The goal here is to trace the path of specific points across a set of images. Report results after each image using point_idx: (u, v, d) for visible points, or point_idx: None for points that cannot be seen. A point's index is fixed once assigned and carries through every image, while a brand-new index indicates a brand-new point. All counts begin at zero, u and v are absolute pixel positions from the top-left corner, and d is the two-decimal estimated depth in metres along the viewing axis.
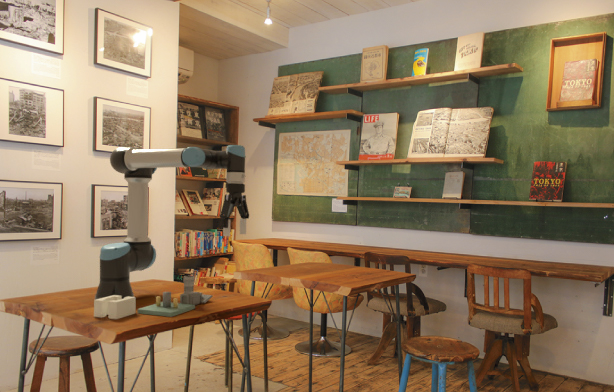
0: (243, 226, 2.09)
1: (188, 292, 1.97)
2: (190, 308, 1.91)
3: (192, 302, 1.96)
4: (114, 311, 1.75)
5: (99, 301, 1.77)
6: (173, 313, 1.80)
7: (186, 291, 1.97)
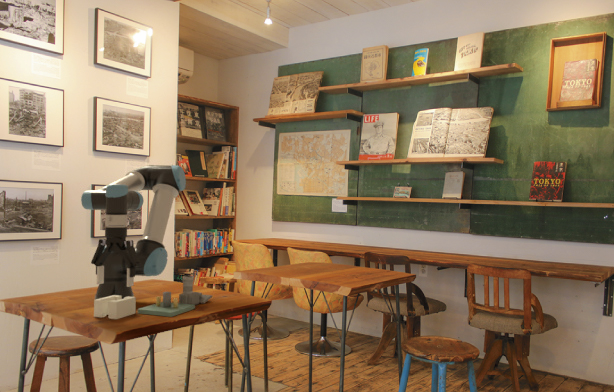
0: None
1: (187, 292, 1.97)
2: (190, 308, 1.91)
3: (190, 302, 1.96)
4: (114, 311, 1.75)
5: (99, 301, 1.77)
6: (173, 313, 1.80)
7: (185, 291, 1.97)
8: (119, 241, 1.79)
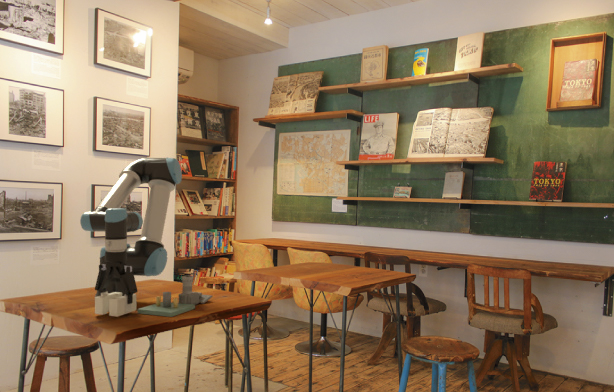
0: None
1: (186, 292, 1.97)
2: (190, 308, 1.91)
3: (190, 302, 1.96)
4: (115, 308, 1.76)
5: (100, 298, 1.78)
6: (173, 313, 1.80)
7: (184, 291, 1.97)
8: (119, 265, 1.79)
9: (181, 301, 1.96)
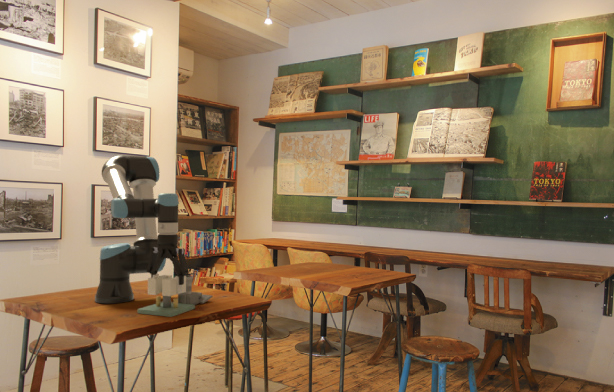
0: None
1: (185, 292, 1.97)
2: (190, 308, 1.91)
3: (189, 302, 1.96)
4: (168, 288, 1.82)
5: (153, 279, 1.85)
6: (173, 313, 1.80)
7: None
8: (171, 247, 1.87)
9: (180, 301, 1.96)
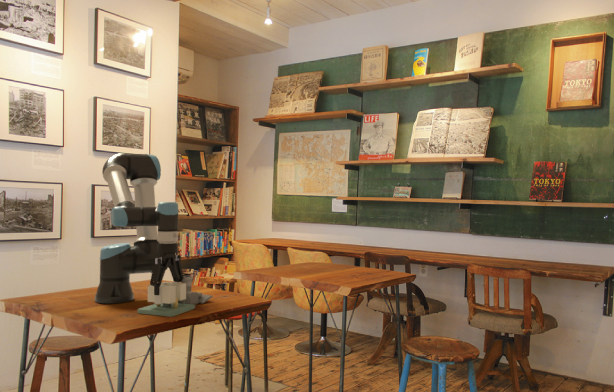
0: None
1: None
2: (190, 308, 1.91)
3: (188, 302, 1.96)
4: (184, 292, 1.91)
5: (173, 287, 1.84)
6: (173, 313, 1.80)
7: None
8: (174, 255, 1.91)
9: (180, 301, 1.96)
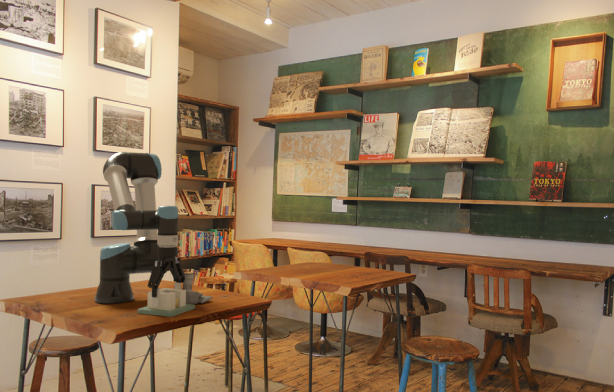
0: None
1: (186, 290, 1.97)
2: (190, 308, 1.91)
3: (188, 300, 1.96)
4: (184, 298, 1.91)
5: (173, 294, 1.85)
6: (173, 313, 1.80)
7: (184, 289, 1.98)
8: (174, 259, 1.91)
9: None
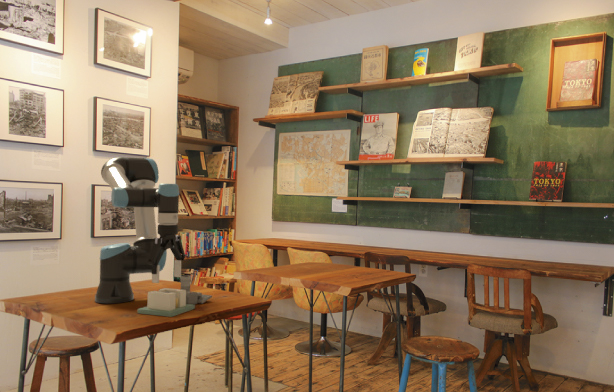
0: (178, 268, 1.95)
1: None
2: (190, 308, 1.91)
3: (187, 302, 1.96)
4: (184, 298, 1.91)
5: (173, 294, 1.85)
6: (173, 313, 1.80)
7: None
8: (174, 237, 1.91)
9: None
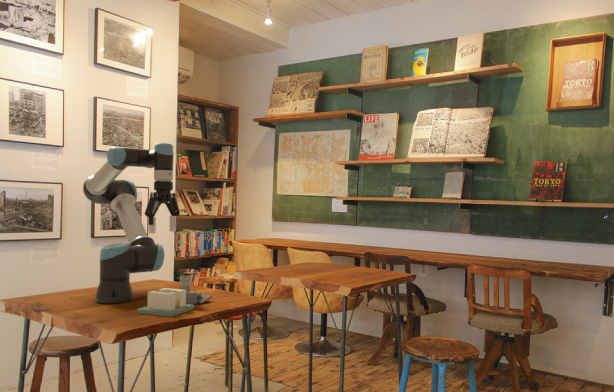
0: (173, 223, 2.11)
1: None
2: (190, 308, 1.91)
3: (186, 302, 1.96)
4: (184, 298, 1.91)
5: (173, 294, 1.85)
6: (173, 313, 1.80)
7: None
8: (169, 193, 2.08)
9: None
